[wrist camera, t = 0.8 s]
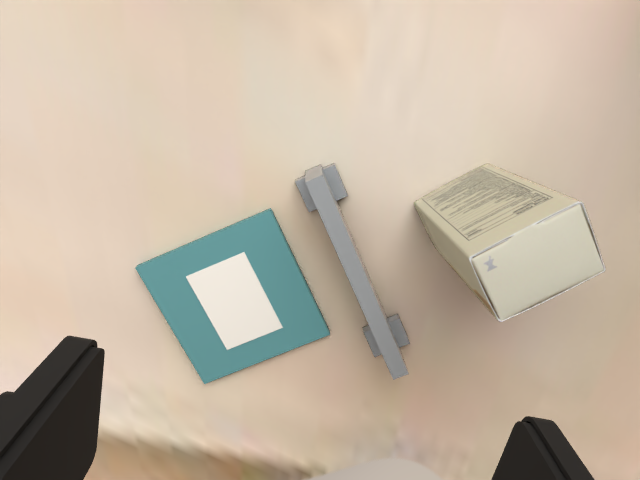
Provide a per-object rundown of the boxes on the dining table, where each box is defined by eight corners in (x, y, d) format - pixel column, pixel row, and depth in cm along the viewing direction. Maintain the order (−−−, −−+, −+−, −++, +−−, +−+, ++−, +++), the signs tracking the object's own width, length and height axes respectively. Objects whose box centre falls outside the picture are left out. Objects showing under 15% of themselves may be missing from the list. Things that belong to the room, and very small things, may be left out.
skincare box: (435, 249, 37) (493, 328, 26) (411, 200, 36) (461, 260, 24) (514, 210, 36) (612, 273, 25) (492, 158, 35) (584, 199, 23)
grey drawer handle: (332, 159, 35) (335, 169, 31) (409, 341, 40) (420, 369, 36) (293, 175, 35) (292, 188, 31) (374, 354, 40) (381, 384, 36)
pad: (270, 207, 36) (270, 210, 35) (329, 330, 39) (329, 335, 38) (137, 265, 37) (134, 268, 36) (206, 379, 40) (204, 384, 40)
